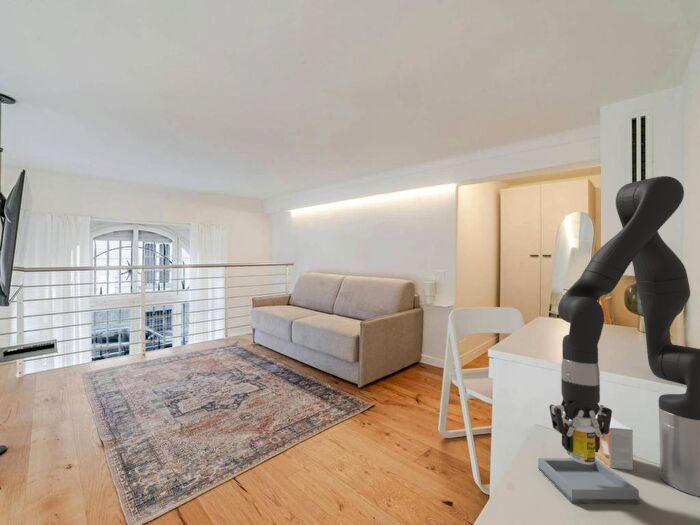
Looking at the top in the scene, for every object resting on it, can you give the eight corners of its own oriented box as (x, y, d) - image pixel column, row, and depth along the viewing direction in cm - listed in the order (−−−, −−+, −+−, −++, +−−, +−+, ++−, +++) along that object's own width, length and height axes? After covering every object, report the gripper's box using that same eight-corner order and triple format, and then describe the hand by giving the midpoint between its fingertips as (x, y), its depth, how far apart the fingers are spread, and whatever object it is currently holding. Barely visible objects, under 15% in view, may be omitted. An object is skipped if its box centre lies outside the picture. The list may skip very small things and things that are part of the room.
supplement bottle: (590, 468, 72) (589, 422, 72) (562, 456, 76) (562, 413, 77) (599, 461, 75) (599, 417, 75) (572, 450, 79) (572, 408, 80)
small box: (591, 451, 91) (590, 414, 91) (612, 453, 90) (612, 415, 90) (610, 468, 83) (609, 427, 83) (633, 470, 82) (633, 429, 82)
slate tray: (595, 470, 82) (595, 458, 82) (638, 503, 70) (638, 489, 70) (538, 469, 81) (538, 458, 82) (571, 503, 69) (571, 489, 70)
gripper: (596, 374, 80) (597, 442, 80) (541, 373, 80) (541, 442, 79) (622, 384, 73) (623, 460, 72) (561, 383, 72) (562, 459, 72)
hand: (580, 450), depth 76 cm, fingers closed on supplement bottle, 5 cm apart
